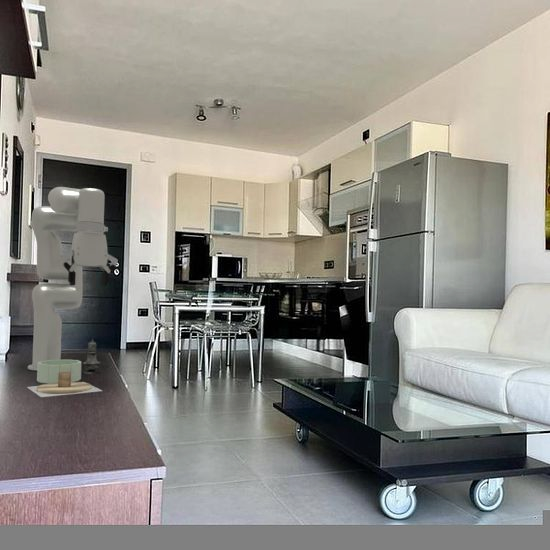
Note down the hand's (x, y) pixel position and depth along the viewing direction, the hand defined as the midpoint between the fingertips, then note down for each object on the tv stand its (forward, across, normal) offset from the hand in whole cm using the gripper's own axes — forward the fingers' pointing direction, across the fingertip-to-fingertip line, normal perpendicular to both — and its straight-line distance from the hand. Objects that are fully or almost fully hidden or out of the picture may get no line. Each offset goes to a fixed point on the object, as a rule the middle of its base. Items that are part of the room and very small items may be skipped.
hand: (88, 285), depth 158 cm
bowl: (+31, +3, -17) cm, 36 cm away
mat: (+31, +6, 0) cm, 32 cm away
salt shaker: (+31, -11, -28) cm, 44 cm away
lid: (+31, +6, 0) cm, 31 cm away
